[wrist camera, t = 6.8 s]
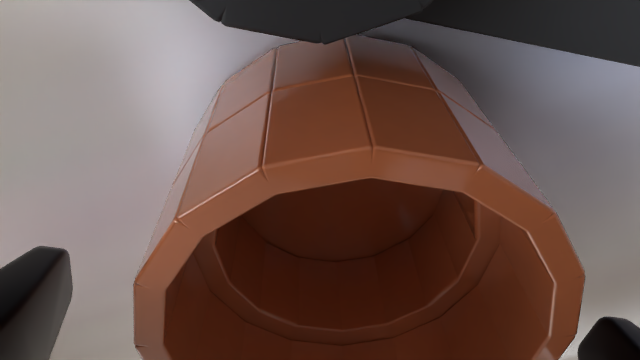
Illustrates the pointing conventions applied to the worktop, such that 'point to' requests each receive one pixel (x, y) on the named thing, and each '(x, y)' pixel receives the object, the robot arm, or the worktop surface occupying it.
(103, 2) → the worktop surface
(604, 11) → the scale
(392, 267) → the bowl
